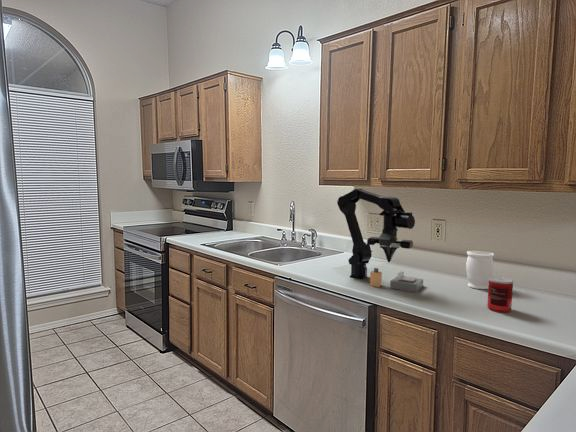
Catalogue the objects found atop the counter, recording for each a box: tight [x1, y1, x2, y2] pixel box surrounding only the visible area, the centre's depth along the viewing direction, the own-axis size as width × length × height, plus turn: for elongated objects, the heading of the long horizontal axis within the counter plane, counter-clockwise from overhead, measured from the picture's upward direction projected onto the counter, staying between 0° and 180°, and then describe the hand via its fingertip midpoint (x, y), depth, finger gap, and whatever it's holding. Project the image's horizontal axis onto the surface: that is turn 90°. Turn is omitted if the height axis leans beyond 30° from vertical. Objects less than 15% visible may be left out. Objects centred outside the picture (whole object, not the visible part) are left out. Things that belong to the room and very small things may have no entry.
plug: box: [369, 267, 383, 288], centre depth 174 cm, size 4×3×8 cm
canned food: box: [486, 276, 514, 314], centre depth 144 cm, size 8×8×11 cm
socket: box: [389, 275, 424, 293], centre depth 172 cm, size 11×11×3 cm
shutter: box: [397, 271, 417, 282], centre depth 172 cm, size 6×6×3 cm
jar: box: [465, 250, 495, 290], centre depth 173 cm, size 11×10×15 cm
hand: (389, 262), depth 176 cm, fingers closed
